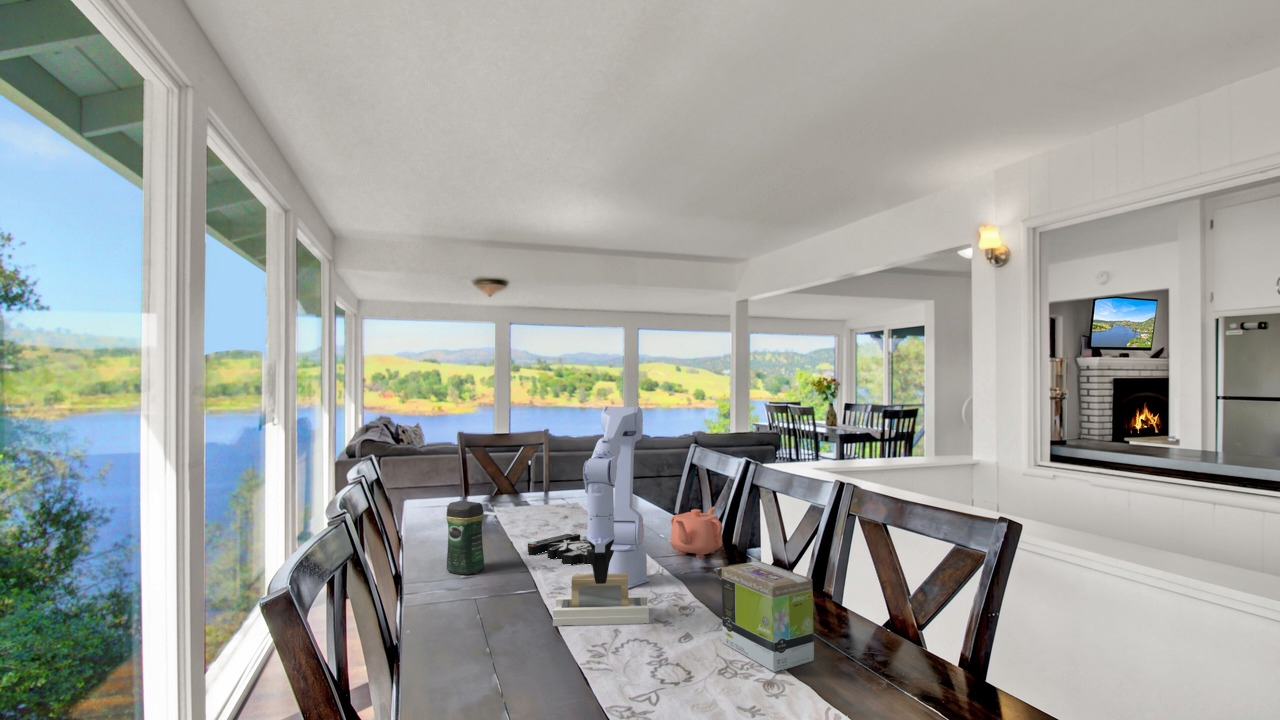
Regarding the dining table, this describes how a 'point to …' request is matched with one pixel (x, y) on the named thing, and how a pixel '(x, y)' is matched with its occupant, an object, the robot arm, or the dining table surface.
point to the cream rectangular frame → (601, 613)
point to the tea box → (768, 614)
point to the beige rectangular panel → (599, 591)
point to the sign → (563, 548)
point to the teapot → (696, 533)
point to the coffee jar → (465, 537)
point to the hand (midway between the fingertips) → (601, 577)
